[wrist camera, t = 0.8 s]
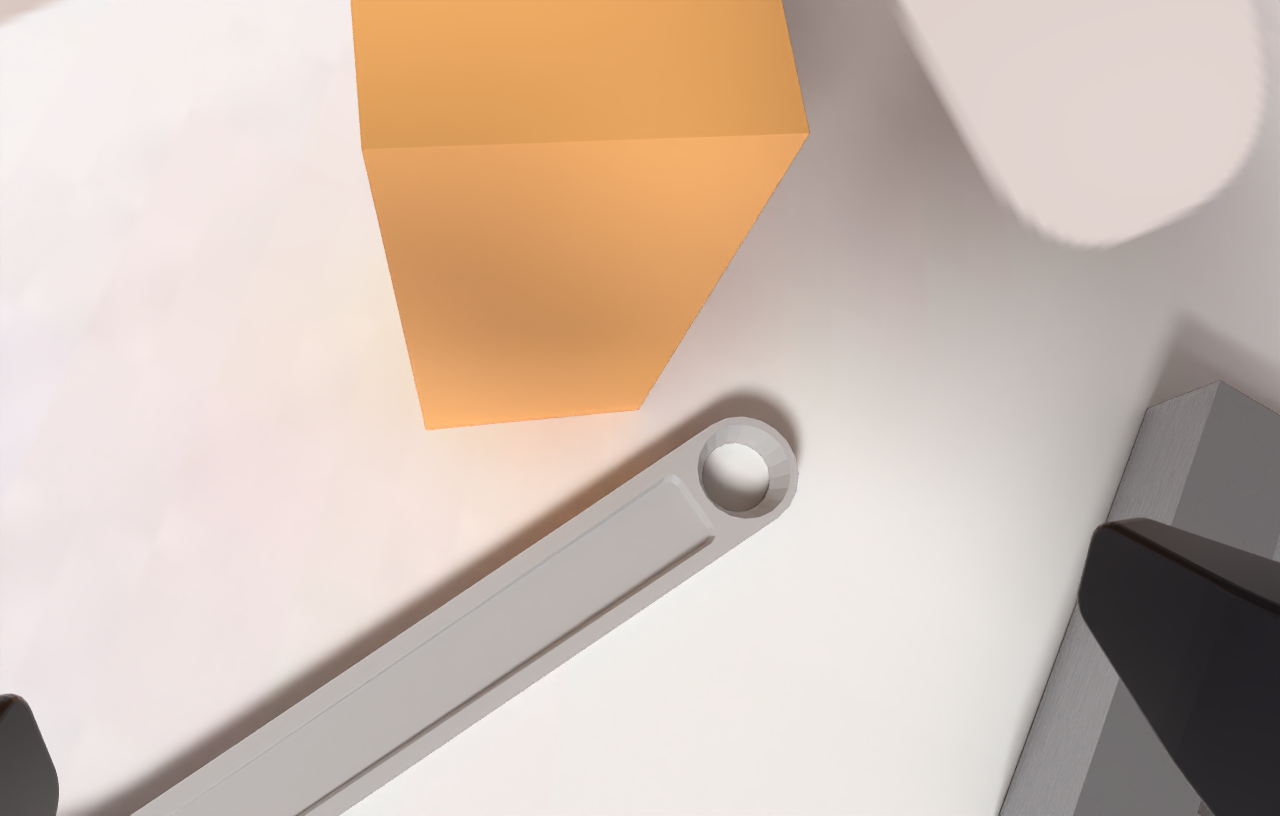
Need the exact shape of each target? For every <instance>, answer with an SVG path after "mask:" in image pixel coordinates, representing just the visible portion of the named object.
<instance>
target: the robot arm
mask: <svg viewBox="0 0 1280 816" xmlns="http://www.w3.org/2000/svg"><path fill="white" fill-rule="evenodd" d="M1077 597H1078V607H1079V611H1080V614H1081V616H1082V619H1083V621H1084V622H1085V624H1086V626H1087V627H1088V629H1089V631H1090V632H1091V634H1092V635H1093V637H1094V638H1095V640H1096V642H1097V643H1098V645H1099V646H1100V648H1101V650H1102V651H1103V653H1104V654H1105V656H1106V658H1107V659H1108V661H1109V662H1110V664H1111V665H1112V667H1113V669H1114V670H1115V672H1116V673H1117V675H1118V677H1119V678H1120V680H1121V681H1122V683H1123V684H1124V686H1125V688H1126V689H1127V691H1128V692H1129V694H1130V696H1131V697H1132V699H1133V700H1134V702H1135V704H1136V705H1137V707H1138V708H1139V710H1140V711H1141V713H1142V715H1143V716H1144V718H1145V719H1146V721H1147V723H1148V724H1149V726H1150V727H1151V729H1152V731H1153V732H1154V734H1155V735H1156V737H1157V738H1158V740H1159V741H1160V743H1161V744H1162V746H1163V747H1164V749H1165V751H1166V752H1167V754H1168V755H1169V757H1170V758H1171V760H1172V761H1173V763H1174V764H1175V765H1176V767H1177V768H1178V769H1179V771H1180V772H1181V774H1182V775H1183V776H1184V778H1185V779H1186V780H1187V782H1188V783H1189V784H1190V786H1191V787H1192V789H1193V790H1194V791H1195V792H1196V794H1197V795H1198V796H1199V798H1200V799H1201V800H1202V802H1203V803H1204V804H1205V806H1206V807H1207V808H1208V810H1209V811H1210V812H1211V813H1212V815H1213V816H1280V562H1278V561H1275V560H1272V559H1269V558H1266V557H1263V556H1260V555H1257V554H1254V553H1251V552H1248V551H1245V550H1242V549H1239V548H1236V547H1233V546H1230V545H1227V544H1224V543H1221V542H1218V541H1215V540H1212V539H1209V538H1206V537H1203V536H1200V535H1197V534H1194V533H1191V532H1188V531H1185V530H1182V529H1179V528H1176V527H1173V526H1170V525H1167V524H1164V523H1161V522H1158V521H1155V520H1152V519H1149V518H1145V517H1133V518H1127V519H1120V520H1114V521H1108V522H1105V523H1103V524H1101V525H1099V526H1098V527H1097V529H1096V530H1095V531H1094V532H1093V535H1092V537H1091V541H1090V545H1089V549H1088V553H1087V557H1086V561H1085V565H1084V569H1083V573H1082V577H1081V581H1080V585H1079V589H1078V595H1077ZM58 799H59V784H58V777H57V773H56V770H55V767H54V765H53V762H52V760H51V757H50V755H49V752H48V750H47V747H46V745H45V742H44V740H43V738H42V735H41V733H40V730H39V728H38V725H37V723H36V720H35V718H34V715H33V713H32V711H31V709H30V707H29V705H28V703H27V702H26V701H25V700H24V699H23V698H22V697H20V696H18V695H15V694H3V695H0V816H56V812H57V807H58Z"/></svg>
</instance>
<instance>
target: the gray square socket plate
mask: <svg viewBox="0 0 1280 816" xmlns="http://www.w3.org/2000/svg"><path fill="white" fill-rule="evenodd" d="M1133 517H1145V518H1149V519H1152V520H1155V521H1158V522H1161V523H1164V524H1167V525H1170V526H1173V527H1176V528H1179V529H1182V530H1185V531H1188V532H1191V533H1194V534H1197V535H1200V536H1203V537H1206V538H1209V539H1212V540H1215V541H1218V542H1221V543H1224V544H1227V545H1230V546H1233V547H1236V548H1239V549H1242V550H1245V551H1248V552H1251V553H1254V554H1257V555H1260V556H1263V557H1266V558H1269V559H1272V560H1275V561H1278V562H1280V415H1278V414H1277V413H1275V412H1273V411H1272V410H1270V409H1268V408H1266V407H1265V406H1263V405H1261V404H1260V403H1258V402H1256V401H1255V400H1253V399H1251V398H1249V397H1248V396H1246V395H1244V394H1243V393H1241V392H1239V391H1237V390H1236V389H1234V388H1232V387H1231V386H1229V385H1227V384H1226V383H1224V382H1222V381H1217V382H1214V383H1212V384H1209V385H1207V386H1204V387H1201V388H1199V389H1196V390H1194V391H1191V392H1188V393H1186V394H1183V395H1181V396H1178V397H1175V398H1173V399H1170V400H1168V401H1165V402H1163V403H1160V404H1157V405H1155V406H1152V407H1150V408H1148V409H1147V412H1146V414H1145V417H1144V420H1143V423H1142V425H1141V428H1140V431H1139V434H1138V436H1137V439H1136V442H1135V445H1134V447H1133V450H1132V453H1131V456H1130V458H1129V461H1128V464H1127V467H1126V469H1125V472H1124V475H1123V478H1122V480H1121V483H1120V486H1119V488H1118V491H1117V494H1116V497H1115V499H1114V502H1113V505H1112V508H1111V510H1110V513H1109V516H1108V519H1107V521H1106V522H1108V521H1114V520H1120V519H1127V518H1133ZM1200 804H1201V799H1200V798H1199V796H1198V795H1197V794H1196V792H1195V791H1194V790H1193V789H1192V787H1191V786H1190V784H1189V783H1188V782H1187V780H1186V779H1185V778H1184V776H1183V775H1182V774H1181V772H1180V771H1179V769H1178V768H1177V767H1176V765H1175V764H1174V763H1173V761H1172V760H1171V758H1170V757H1169V755H1168V754H1167V752H1166V751H1165V749H1164V747H1163V746H1162V744H1161V743H1160V741H1159V740H1158V738H1157V737H1156V735H1155V734H1154V732H1153V731H1152V729H1151V727H1150V726H1149V724H1148V723H1147V721H1146V719H1145V718H1144V716H1143V715H1142V713H1141V711H1140V710H1139V708H1138V707H1137V705H1136V704H1135V702H1134V700H1133V699H1132V697H1131V696H1130V694H1129V692H1128V691H1127V689H1126V688H1125V686H1124V684H1123V683H1122V681H1121V680H1120V678H1119V677H1118V675H1117V673H1116V672H1115V670H1114V669H1113V667H1112V665H1111V664H1110V662H1109V661H1108V659H1107V658H1106V656H1105V654H1104V653H1103V651H1102V650H1101V648H1100V646H1099V645H1098V643H1097V642H1096V640H1095V638H1094V637H1093V635H1092V634H1091V632H1090V631H1089V629H1088V627H1087V626H1086V624H1085V622H1084V621H1083V619H1082V616H1081V614H1080V611H1079V607H1078V601H1077V604H1076V606H1075V609H1074V612H1073V615H1072V617H1071V620H1070V623H1069V626H1068V628H1067V631H1066V634H1065V637H1064V639H1063V642H1062V645H1061V648H1060V650H1059V653H1058V656H1057V659H1056V661H1055V664H1054V667H1053V670H1052V672H1051V675H1050V678H1049V680H1048V683H1047V686H1046V689H1045V691H1044V694H1043V697H1042V700H1041V702H1040V705H1039V708H1038V711H1037V713H1036V716H1035V719H1034V722H1033V724H1032V727H1031V730H1030V733H1029V735H1028V738H1027V741H1026V744H1025V746H1024V749H1023V752H1022V755H1021V757H1020V760H1019V763H1018V766H1017V768H1016V771H1015V774H1014V776H1013V779H1012V782H1011V785H1010V787H1009V790H1008V793H1007V796H1006V798H1005V801H1004V804H1003V807H1002V809H1001V812H1000V815H999V816H1202V815H1200V814H1198V810H1199V807H1200Z"/></svg>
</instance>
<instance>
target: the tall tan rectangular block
mask: <svg viewBox="0 0 1280 816" xmlns="http://www.w3.org/2000/svg"><path fill="white" fill-rule="evenodd" d="M351 13H352V26H353V40H354V53H355V67H356V80H357V94H358V107H359V120H360V134H361V147H362V153H363V157H364V162H365V166H366V170H367V175H368V179H369V184H370V188H371V192H372V197H373V201H374V205H375V210H376V214H377V218H378V223H379V227H380V232H381V236H382V240H383V245H384V249H385V253H386V258H387V262H388V267H389V271H390V275H391V280H392V284H393V288H394V293H395V297H396V302H397V306H398V310H399V315H400V319H401V323H402V328H403V332H404V336H405V341H406V345H407V350H408V354H409V358H410V363H411V367H412V371H413V376H414V380H415V385H416V389H417V393H418V398H419V402H420V406H421V411H422V415H423V420H424V424H425V428H426V430H431V429H441V428H452V427H462V426H473V425H483V424H493V423H504V422H514V421H525V420H535V419H546V418H556V417H567V416H577V415H588V414H598V413H608V412H619V411H629V410H639V408H640V407H641V405H642V403H643V402H644V400H645V398H646V397H647V395H648V394H649V392H650V390H651V389H652V387H653V386H654V384H655V382H656V381H657V379H658V377H659V376H660V374H661V373H662V371H663V369H664V368H665V366H666V365H667V363H668V361H669V360H670V358H671V356H672V355H673V353H674V352H675V350H676V348H677V347H678V345H679V344H680V342H681V340H682V339H683V337H684V336H685V334H686V332H687V331H688V329H689V327H690V326H691V324H692V323H693V321H694V319H695V318H696V316H697V315H698V313H699V311H700V310H701V308H702V306H703V305H704V303H705V302H706V300H707V298H708V297H709V295H710V294H711V292H712V290H713V289H714V287H715V285H716V284H717V282H718V281H719V279H720V277H721V276H722V274H723V273H724V271H725V269H726V268H727V266H728V264H729V263H730V261H731V260H732V258H733V256H734V255H735V253H736V252H737V250H738V248H739V247H740V245H741V243H742V242H743V240H744V239H745V237H746V235H747V234H748V232H749V231H750V229H751V227H752V226H753V224H754V222H755V221H756V219H757V218H758V216H759V214H760V213H761V211H762V210H763V208H764V206H765V205H766V203H767V201H768V200H769V198H770V197H771V195H772V193H773V192H774V190H775V189H776V187H777V185H778V184H779V182H780V180H781V179H782V177H783V176H784V174H785V172H786V171H787V169H788V168H789V166H790V164H791V163H792V161H793V159H794V158H795V156H796V155H797V153H798V151H799V150H800V148H801V147H802V145H803V143H804V142H805V140H806V139H807V137H808V135H809V134H810V132H809V127H808V122H807V118H806V113H805V108H804V103H803V99H802V94H801V89H800V84H799V80H798V75H797V70H796V65H795V61H794V56H793V51H792V47H791V42H790V37H789V32H788V28H787V23H786V18H785V13H784V9H783V4H782V0H351Z"/></svg>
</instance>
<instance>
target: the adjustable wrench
mask: <svg viewBox="0 0 1280 816" xmlns="http://www.w3.org/2000/svg"><path fill="white" fill-rule="evenodd" d="M731 443H738V444H742V445H746V446H748V447H750V448H752V449H753V450H755V451H756V452H757V453H758V454H759V455H760V456H761V457H762V458H763V460H764V462H765V463H766V465H767V467H768V471H769V477H770V481H769V489H768V491H767V493H766V495H765V497H764V499H763V500H762V501H761V502H760V503H759V504H758V505H757V506H756V507H754V508H752V509H749V510H747V511H739V512H735V511H730V510H726V509H724V508H722V507H720V506H719V505H717V504H716V503H715V502H714V501H713V500H712V499H711V498H710V497H709V496H708V494H707V492H706V490H705V488H704V485H703V479H702V471H703V465H704V463H705V461H706V459H707V457H708V455H709V454H710V453H711V452H712V451H714V450H715V449H716V448H718V447H720V446H722V445H724V444H731ZM798 475H799V473H798V468H797V463H796V457H795V455H794V453H793V451H792V449H791V447H790V445H789V443H788V442H787V440H786V439H785V438H784V437H783V436H782V435H781V434H780V433H779V432H778V431H777V430H776V429H775V428H773V427H771V426H770V425H768V424H766V423H764V422H763V421H761V420H758V419H753V418H749V417H744V416H742V417H731V418H725V419H723V420H721V421H719V422H716V423H714V424H712V425H710V426H709V427H707V428H706V429H704V430H703V431H701V432H700V433H698V434H697V435H695V436H694V437H692V438H691V439H689V440H688V441H686V442H685V443H683V444H682V445H681V446H679V447H678V448H676V449H675V450H673V451H672V452H670V453H669V454H667V455H666V456H664V457H663V458H661V459H660V460H658V461H657V462H655V463H654V464H652V465H651V466H649V467H648V468H646V469H645V470H643V471H642V472H640V473H639V474H637V475H636V476H634V477H633V478H631V479H630V480H628V481H627V482H625V483H624V484H622V485H621V486H620V487H618V488H617V489H615V490H614V491H612V492H611V493H609V494H608V495H606V496H605V497H603V498H602V499H600V500H599V501H597V502H596V503H594V504H593V505H591V506H590V507H588V508H587V509H585V510H584V511H582V512H581V513H579V514H578V515H576V516H575V517H573V518H572V519H570V520H569V521H567V522H566V523H564V524H563V525H561V526H560V527H559V528H557V529H556V530H554V531H553V532H551V533H550V534H548V535H547V536H545V537H544V538H542V539H541V540H539V541H538V542H536V543H535V544H533V545H532V546H530V547H529V548H527V549H526V550H524V551H523V552H521V553H520V554H518V555H517V556H515V557H514V558H512V559H511V560H509V561H508V562H506V563H505V564H503V565H502V566H500V567H499V568H498V569H496V570H495V571H493V572H492V573H490V574H489V575H487V576H486V577H484V578H483V579H481V580H480V581H478V582H477V583H475V584H474V585H472V586H471V587H469V588H468V589H466V590H465V591H463V592H462V593H460V594H459V595H457V596H456V597H454V598H453V599H451V600H450V601H448V602H447V603H445V604H444V605H442V606H441V607H439V608H438V609H437V610H435V611H434V612H432V613H431V614H429V615H428V616H426V617H425V618H423V619H422V620H420V621H419V622H417V623H416V624H414V625H413V626H411V627H410V628H408V629H407V630H405V631H404V632H402V633H401V634H399V635H398V636H396V637H395V638H393V639H392V640H390V641H389V642H387V643H386V644H384V645H383V646H381V647H380V648H378V649H377V650H376V651H374V652H373V653H371V654H370V655H368V656H367V657H365V658H364V659H362V660H361V661H359V662H358V663H356V664H355V665H353V666H352V667H350V668H349V669H347V670H346V671H344V672H343V673H341V674H340V675H338V676H337V677H335V678H334V679H332V680H331V681H329V682H328V683H326V684H325V685H323V686H322V687H320V688H319V689H317V690H316V691H315V692H313V693H312V694H310V695H309V696H307V697H306V698H304V699H303V700H301V701H300V702H298V703H297V704H295V705H294V706H292V707H291V708H289V709H288V710H286V711H285V712H283V713H282V714H280V715H279V716H277V717H276V718H274V719H273V720H271V721H270V722H268V723H267V724H265V725H264V726H262V727H261V728H259V729H258V730H256V731H255V732H254V733H252V734H251V735H249V736H248V737H246V738H245V739H243V740H242V741H240V742H239V743H237V744H236V745H234V746H233V747H231V748H230V749H228V750H227V751H225V752H224V753H222V754H221V755H219V756H218V757H216V758H215V759H213V760H212V761H210V762H209V763H207V764H206V765H204V766H203V767H201V768H200V769H198V770H197V771H195V772H194V773H192V774H191V775H190V776H188V777H187V778H185V779H184V780H182V781H181V782H179V783H178V784H176V785H175V786H173V787H172V788H170V789H169V790H167V791H166V792H164V793H163V794H161V795H160V796H158V797H157V798H155V799H154V800H152V801H151V802H149V803H148V804H146V805H145V806H143V807H142V808H140V809H139V810H137V811H136V812H134V813H133V814H131V815H130V816H339V815H341V814H342V813H344V812H345V811H346V810H348V809H349V808H351V807H352V806H354V805H355V804H357V803H358V802H360V801H361V800H363V799H364V798H366V797H367V796H369V795H370V794H372V793H373V792H374V791H376V790H377V789H379V788H380V787H382V786H383V785H385V784H386V783H388V782H389V781H391V780H392V779H394V778H395V777H397V776H398V775H400V774H401V773H402V772H404V771H405V770H407V769H408V768H410V767H411V766H413V765H414V764H416V763H417V762H419V761H420V760H422V759H423V758H425V757H426V756H428V755H429V754H430V753H432V752H433V751H435V750H436V749H438V748H439V747H441V746H442V745H444V744H445V743H447V742H448V741H450V740H451V739H453V738H454V737H456V736H457V735H458V734H460V733H461V732H463V731H464V730H466V729H467V728H469V727H470V726H472V725H473V724H475V723H476V722H478V721H479V720H481V719H482V718H484V717H485V716H487V715H488V714H489V713H491V712H492V711H494V710H495V709H497V708H498V707H500V706H501V705H503V704H504V703H506V702H507V701H509V700H510V699H512V698H513V697H515V696H516V695H517V694H519V693H520V692H522V691H523V690H525V689H526V688H528V687H529V686H531V685H532V684H534V683H535V682H537V681H538V680H540V679H541V678H543V677H544V676H545V675H547V674H548V673H550V672H551V671H553V670H554V669H556V668H557V667H559V666H560V665H562V664H563V663H565V662H566V661H568V660H569V659H571V658H572V657H573V656H575V655H576V654H578V653H579V652H581V651H582V650H584V649H585V648H587V647H588V646H590V645H591V644H593V643H594V642H596V641H597V640H599V639H600V638H601V637H603V636H604V635H606V634H607V633H609V632H610V631H612V630H613V629H615V628H616V627H618V626H619V625H621V624H622V623H624V622H625V621H627V620H628V619H629V618H631V617H632V616H634V615H635V614H637V613H638V612H640V611H641V610H643V609H644V608H646V607H647V606H649V605H650V604H652V603H653V602H655V601H656V600H657V599H659V598H660V597H662V596H663V595H665V594H666V593H668V592H669V591H671V590H672V589H674V588H675V587H677V586H678V585H680V584H681V583H683V582H684V581H685V580H687V579H688V578H690V577H691V576H693V575H694V574H696V573H697V572H699V571H700V570H702V569H703V568H705V567H706V566H708V565H709V564H711V563H712V562H713V561H715V560H716V559H718V558H719V557H721V556H722V555H724V554H725V553H727V552H728V551H730V550H731V549H733V548H734V547H736V546H737V545H739V544H740V543H742V542H743V541H744V540H746V539H747V538H749V537H750V536H752V535H753V534H755V533H756V532H758V531H759V530H761V529H762V528H764V527H765V526H767V525H768V524H770V523H771V522H772V521H774V520H775V519H777V518H778V517H779V516H780V515H781V514H782V513H783V512H784V511H785V510H786V509H787V508H788V507H789V506H790V504H791V501H792V499H793V497H794V495H795V493H796V491H797V483H798Z"/></svg>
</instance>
